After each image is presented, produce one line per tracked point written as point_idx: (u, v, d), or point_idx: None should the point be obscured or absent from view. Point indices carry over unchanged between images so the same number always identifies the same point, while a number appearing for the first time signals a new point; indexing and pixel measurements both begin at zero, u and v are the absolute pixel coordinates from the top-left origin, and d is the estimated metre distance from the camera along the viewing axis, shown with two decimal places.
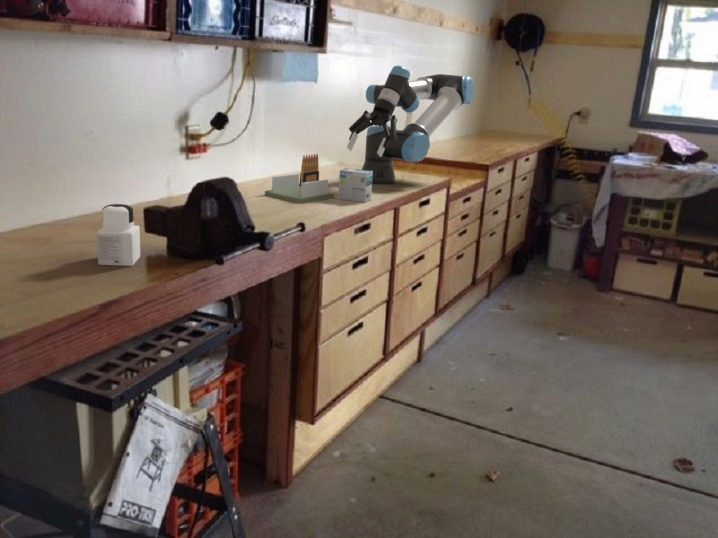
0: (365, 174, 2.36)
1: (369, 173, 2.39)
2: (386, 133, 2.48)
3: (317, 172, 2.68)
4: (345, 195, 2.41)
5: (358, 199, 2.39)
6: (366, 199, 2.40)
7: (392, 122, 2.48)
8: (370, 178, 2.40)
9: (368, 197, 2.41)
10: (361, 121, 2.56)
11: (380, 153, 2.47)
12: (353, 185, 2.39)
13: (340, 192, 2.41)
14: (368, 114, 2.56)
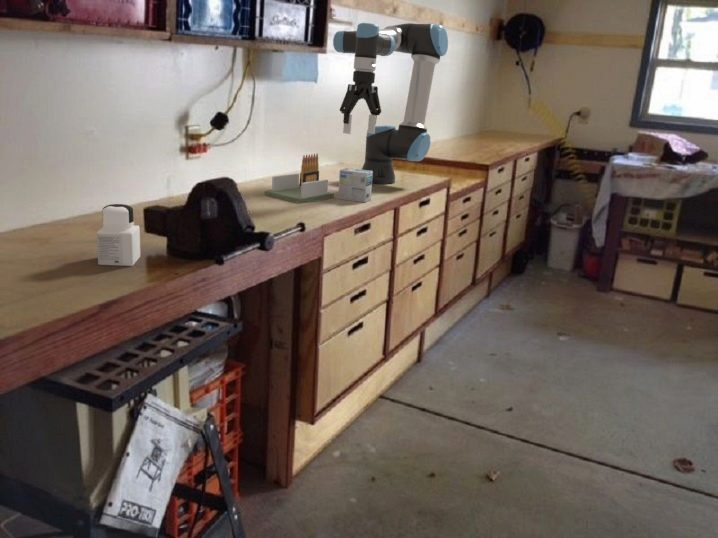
0: (365, 174, 2.36)
1: (369, 173, 2.39)
2: (375, 109, 2.39)
3: (317, 172, 2.68)
4: (345, 195, 2.41)
5: (358, 199, 2.39)
6: (366, 199, 2.40)
7: (377, 95, 2.38)
8: (370, 178, 2.40)
9: (368, 197, 2.41)
10: None
11: None
12: (353, 185, 2.39)
13: (340, 192, 2.41)
14: None
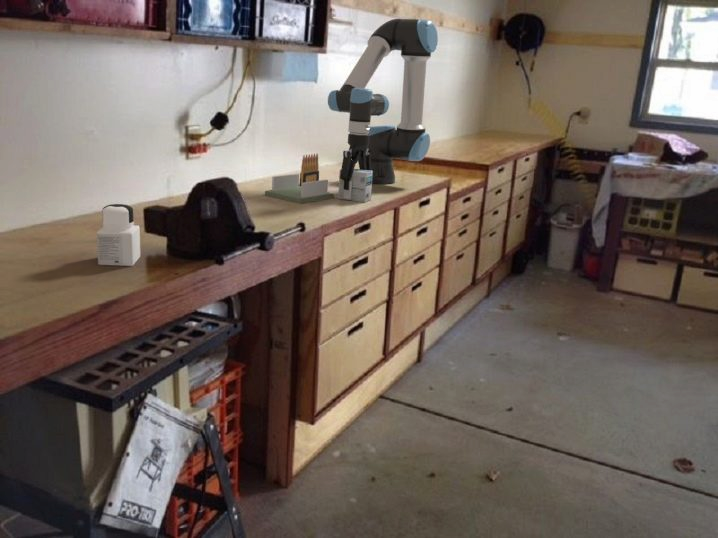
0: (365, 174, 2.36)
1: (369, 173, 2.39)
2: None
3: (317, 172, 2.68)
4: None
5: (358, 199, 2.39)
6: (366, 199, 2.40)
7: (370, 158, 2.43)
8: (370, 178, 2.40)
9: (368, 197, 2.41)
10: None
11: None
12: (353, 185, 2.39)
13: (340, 192, 2.41)
14: None
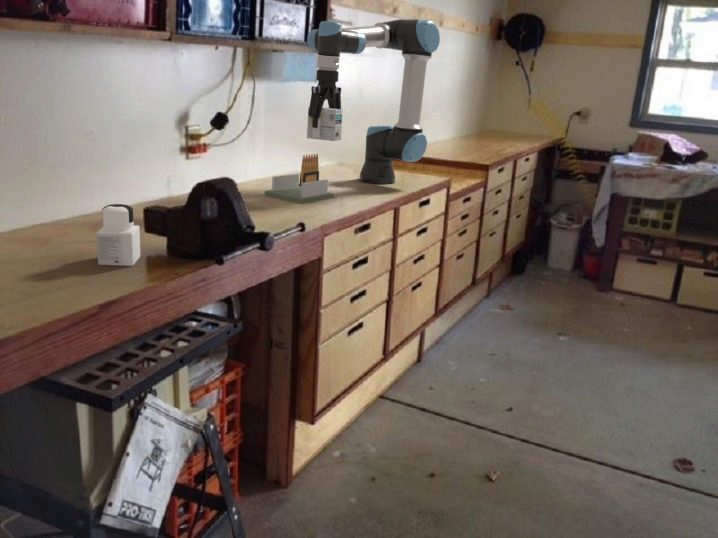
0: (334, 111, 2.29)
1: (339, 111, 2.31)
2: None
3: (317, 172, 2.68)
4: None
5: (327, 137, 2.32)
6: (335, 138, 2.32)
7: (339, 97, 2.36)
8: (340, 116, 2.33)
9: (338, 136, 2.34)
10: None
11: None
12: (322, 123, 2.31)
13: (309, 131, 2.34)
14: (318, 89, 2.27)
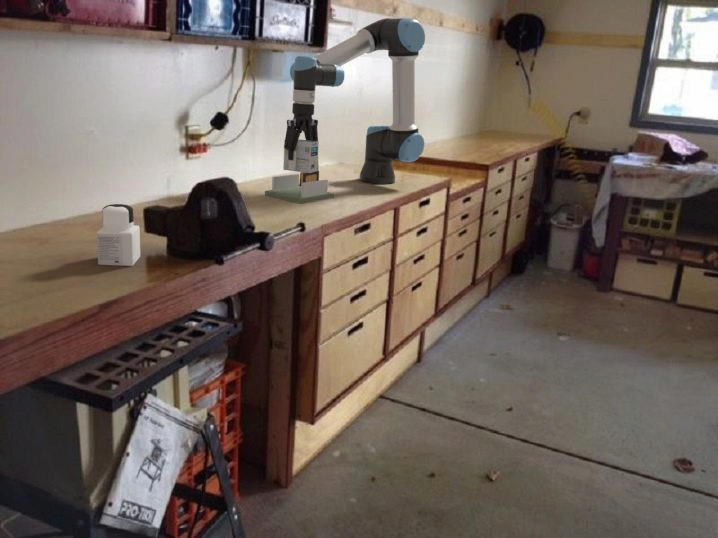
0: (309, 144, 2.32)
1: (314, 143, 2.34)
2: None
3: (317, 172, 2.68)
4: None
5: (303, 169, 2.35)
6: (311, 170, 2.35)
7: (316, 129, 2.39)
8: (315, 148, 2.36)
9: (313, 168, 2.37)
10: None
11: None
12: (298, 155, 2.34)
13: (285, 163, 2.37)
14: (294, 122, 2.30)
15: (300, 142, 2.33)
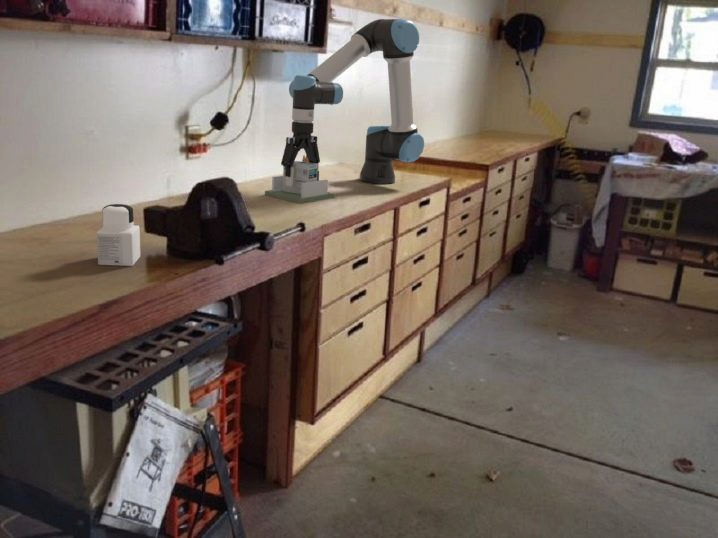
0: (307, 166, 2.34)
1: (312, 165, 2.36)
2: (314, 159, 2.42)
3: (317, 172, 2.68)
4: (289, 187, 2.39)
5: None
6: None
7: (316, 145, 2.41)
8: (314, 171, 2.37)
9: None
10: None
11: None
12: (296, 177, 2.36)
13: (284, 184, 2.39)
14: None
15: (298, 164, 2.35)
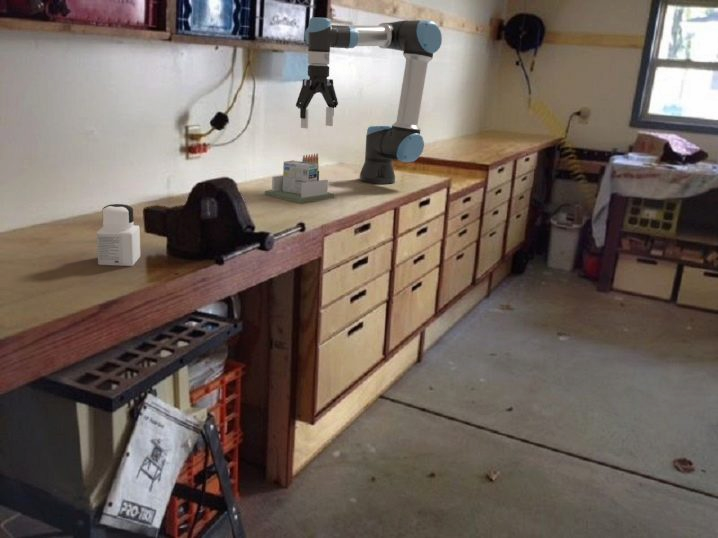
0: (307, 166, 2.34)
1: (312, 165, 2.36)
2: (332, 102, 2.42)
3: (317, 172, 2.68)
4: (289, 187, 2.39)
5: None
6: None
7: (333, 88, 2.41)
8: (314, 171, 2.37)
9: None
10: None
11: None
12: (296, 177, 2.36)
13: (284, 184, 2.39)
14: None
15: (298, 164, 2.35)
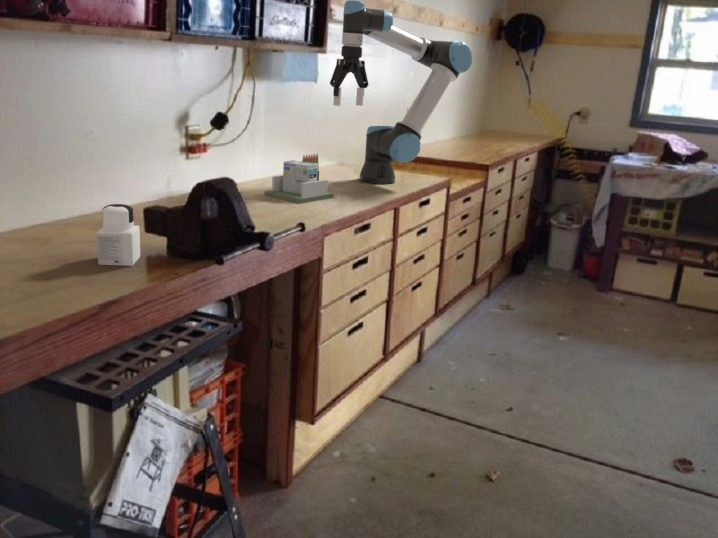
0: (307, 166, 2.34)
1: (312, 165, 2.36)
2: (363, 82, 2.54)
3: (317, 172, 2.68)
4: (289, 187, 2.39)
5: None
6: None
7: (364, 69, 2.53)
8: (314, 171, 2.37)
9: None
10: None
11: None
12: (296, 177, 2.36)
13: (284, 184, 2.39)
14: None
15: (298, 164, 2.35)
